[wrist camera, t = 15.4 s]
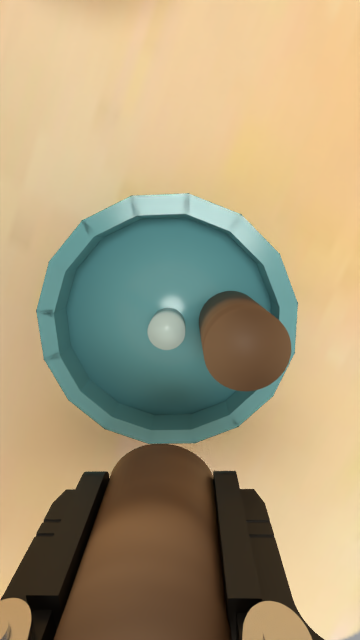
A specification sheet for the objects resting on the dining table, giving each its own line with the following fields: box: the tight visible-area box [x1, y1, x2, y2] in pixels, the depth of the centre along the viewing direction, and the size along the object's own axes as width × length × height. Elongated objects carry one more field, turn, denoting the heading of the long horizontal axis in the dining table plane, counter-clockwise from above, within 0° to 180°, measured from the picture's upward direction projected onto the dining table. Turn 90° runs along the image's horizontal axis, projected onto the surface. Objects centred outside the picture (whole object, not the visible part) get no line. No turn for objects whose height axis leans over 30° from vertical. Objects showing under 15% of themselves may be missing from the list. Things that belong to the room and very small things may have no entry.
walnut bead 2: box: [199, 291, 291, 391], centre depth 14 cm, size 4×4×5 cm
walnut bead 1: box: [54, 444, 232, 640], centre depth 7 cm, size 4×4×5 cm
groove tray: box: [36, 193, 298, 444], centre depth 17 cm, size 14×14×2 cm
